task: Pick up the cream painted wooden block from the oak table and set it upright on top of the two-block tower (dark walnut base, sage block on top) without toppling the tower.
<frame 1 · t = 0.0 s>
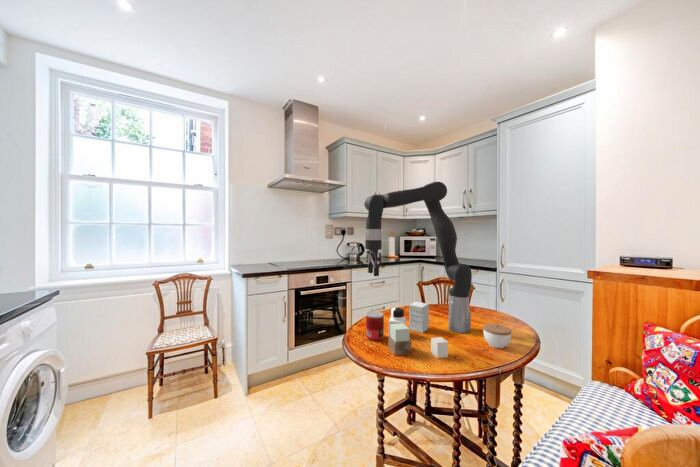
hand: (373, 274, 117), 29 cm above the table, fingers open, 8 cm apart
lidded jar: (496, 346, 110), on the table
walnut base block: (399, 350, 106), on the table, touching sage block
sage block: (399, 338, 106), point 5 cm above the table, touching walnut base block
cream block: (439, 354, 102), on the table
canned food: (374, 338, 118), on the table
supplement box: (418, 329, 128), on the table
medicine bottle: (397, 334, 123), on the table
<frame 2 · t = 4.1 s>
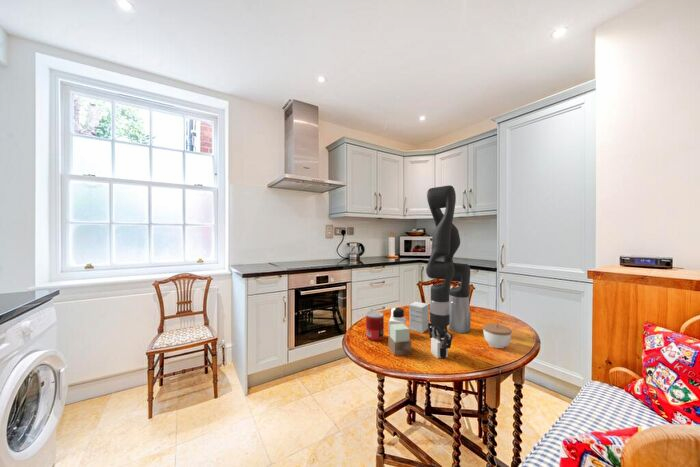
hand: (439, 353, 102), 0 cm above the table, fingers closed on cream block, 4 cm apart
cream block: (439, 354, 102), on the table, touching gripper
everything else where it was.
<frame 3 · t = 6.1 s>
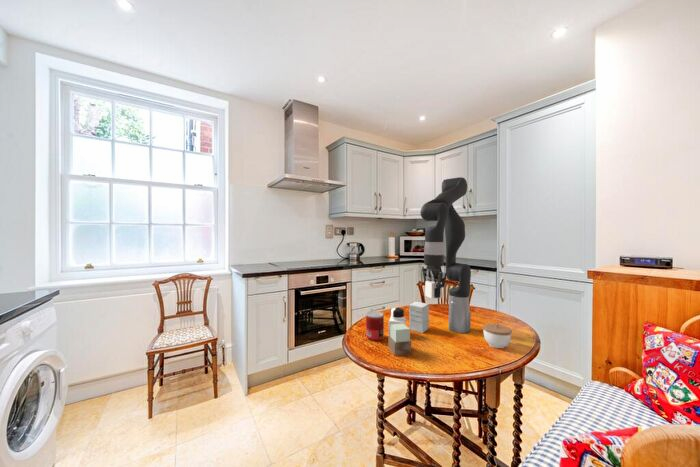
hand: (433, 295, 102), 24 cm above the table, fingers closed on cream block, 4 cm apart
cream block: (433, 296, 102), point 23 cm above the table, touching gripper
everything else where it was.
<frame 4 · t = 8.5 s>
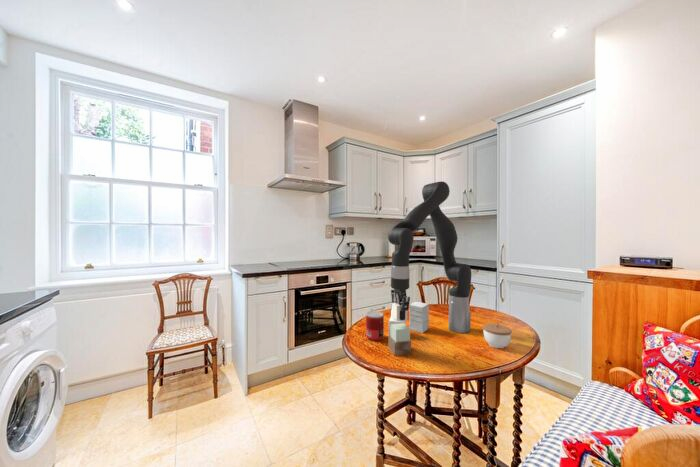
hand: (399, 317, 105), 14 cm above the table, fingers closed on cream block, 4 cm apart
walnut base block: (399, 350, 106), on the table
sage block: (399, 338, 106), point 5 cm above the table
cream block: (399, 318, 105), point 13 cm above the table, touching gripper
everything else where it was.
when the fingers open (11 cm above the table, at t = 9.8 s): cream block stays where it is, resting on sage block.
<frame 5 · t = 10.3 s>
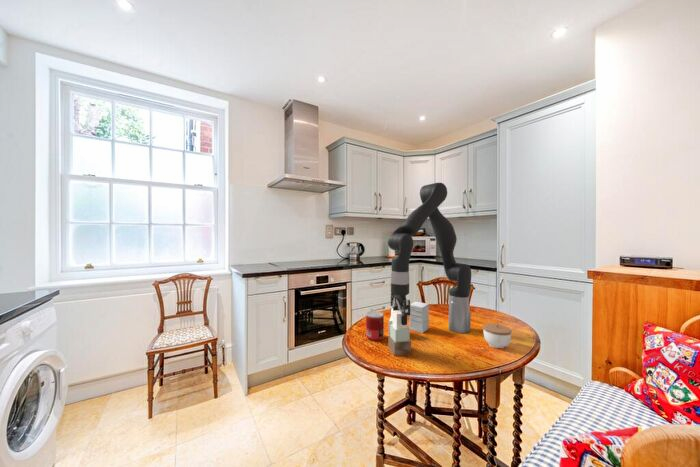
hand: (399, 321, 105), 12 cm above the table, fingers open, 8 cm apart
walnut base block: (399, 350, 105), on the table, touching sage block
sage block: (399, 338, 105), point 5 cm above the table, touching cream block, walnut base block
cream block: (399, 326, 105), point 10 cm above the table, touching sage block
everything else where it was.
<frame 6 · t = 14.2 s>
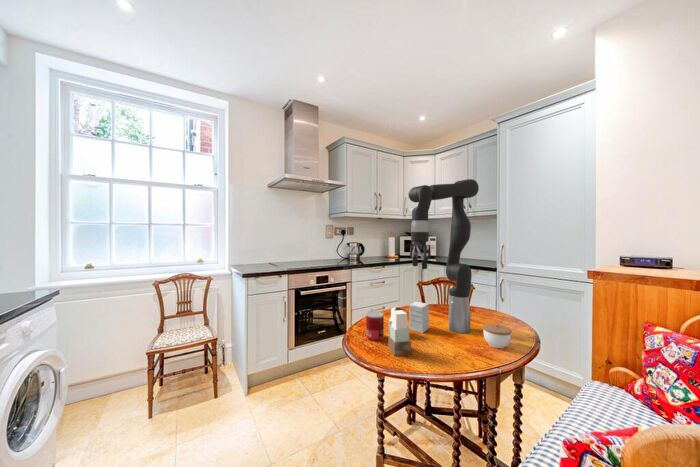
hand: (419, 267, 114), 33 cm above the table, fingers open, 8 cm apart
sage block: (399, 338, 105), point 5 cm above the table, touching walnut base block
cream block: (399, 326, 105), point 10 cm above the table
everything else where it was.
at the end: cream block 0.0 cm off-centre on the sage block, point 5.0 cm above the sage block's base; sage block tilted 0°; cream block tilted 0° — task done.
